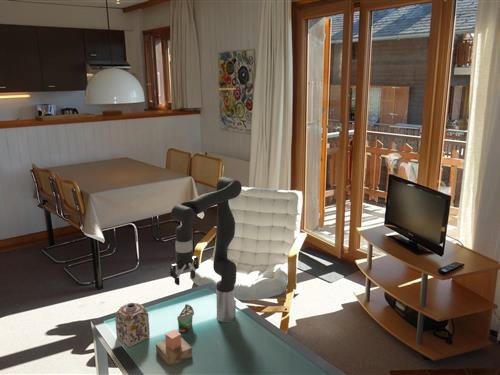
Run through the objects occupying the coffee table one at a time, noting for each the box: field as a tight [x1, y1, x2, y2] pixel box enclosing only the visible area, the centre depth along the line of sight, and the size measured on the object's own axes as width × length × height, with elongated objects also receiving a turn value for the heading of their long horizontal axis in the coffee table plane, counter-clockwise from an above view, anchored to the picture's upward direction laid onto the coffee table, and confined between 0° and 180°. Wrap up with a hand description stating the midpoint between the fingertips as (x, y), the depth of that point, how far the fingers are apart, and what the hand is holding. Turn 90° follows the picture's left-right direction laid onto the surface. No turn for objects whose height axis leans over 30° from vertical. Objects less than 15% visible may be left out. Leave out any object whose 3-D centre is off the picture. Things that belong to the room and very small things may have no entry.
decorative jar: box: [114, 302, 151, 348], centre depth 214 cm, size 12×12×18 cm
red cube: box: [164, 329, 182, 350], centre depth 203 cm, size 5×5×6 cm
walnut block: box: [155, 336, 193, 367], centre depth 204 cm, size 12×12×5 cm
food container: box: [176, 303, 195, 334], centre depth 224 cm, size 12×6×10 cm, turn 168°
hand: (185, 281), depth 203 cm, fingers open, 8 cm apart
